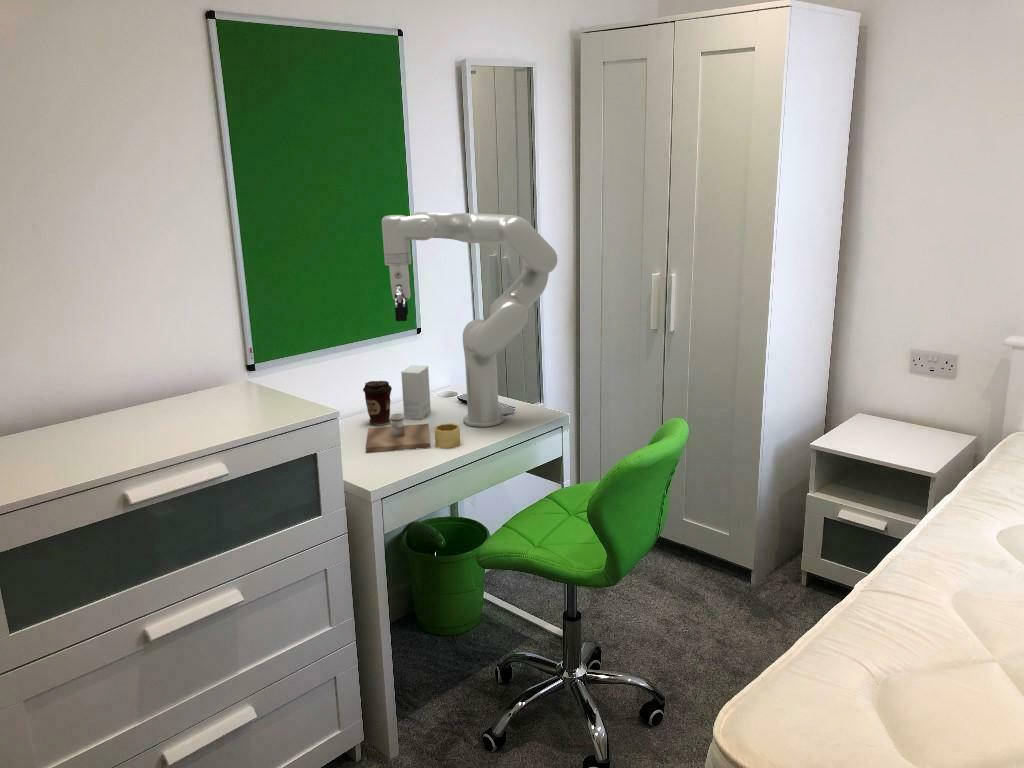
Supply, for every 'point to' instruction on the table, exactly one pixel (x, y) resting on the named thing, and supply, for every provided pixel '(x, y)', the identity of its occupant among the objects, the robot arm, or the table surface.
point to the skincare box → (416, 392)
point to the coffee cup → (378, 401)
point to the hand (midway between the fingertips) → (402, 317)
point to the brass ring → (447, 435)
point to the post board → (397, 443)
